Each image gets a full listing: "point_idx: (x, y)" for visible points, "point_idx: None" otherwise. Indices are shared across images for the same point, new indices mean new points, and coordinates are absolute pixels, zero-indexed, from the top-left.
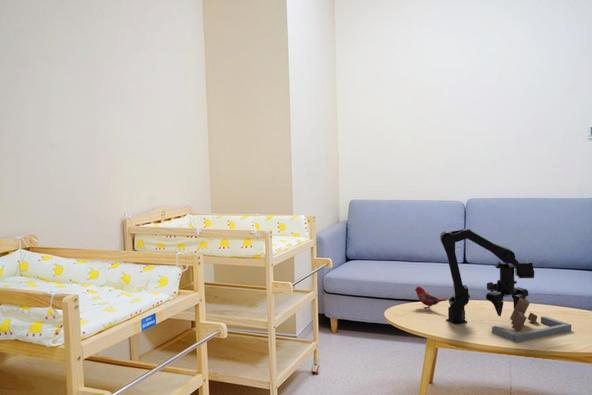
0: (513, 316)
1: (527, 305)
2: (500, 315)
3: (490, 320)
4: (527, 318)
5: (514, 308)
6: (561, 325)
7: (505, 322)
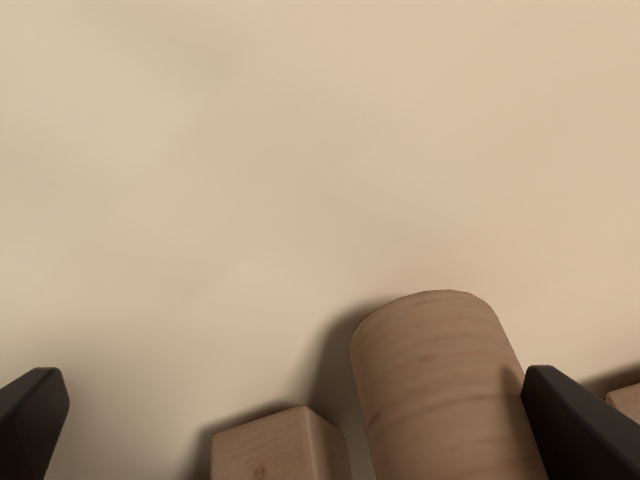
0: (364, 421)
1: None
2: (49, 430)
3: (122, 34)
4: (612, 397)
5: (571, 442)
6: None
7: (289, 252)
